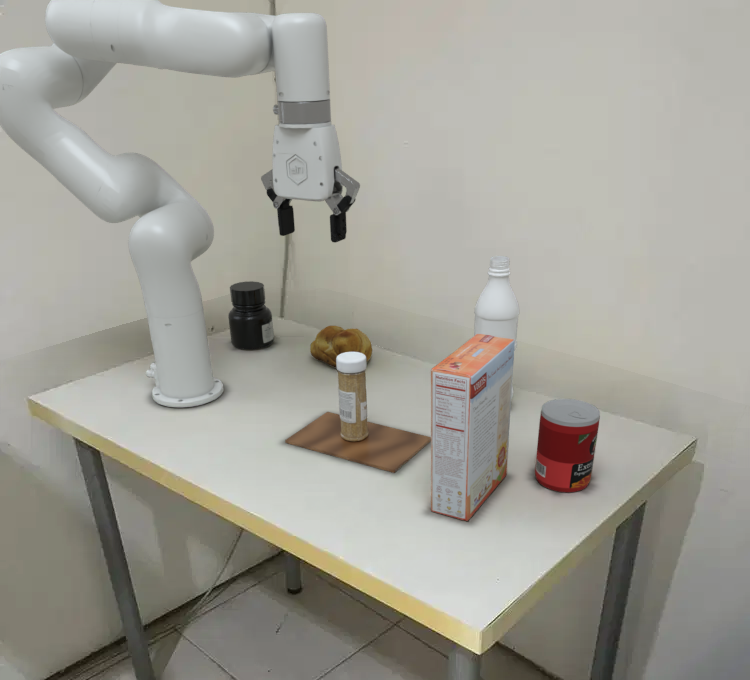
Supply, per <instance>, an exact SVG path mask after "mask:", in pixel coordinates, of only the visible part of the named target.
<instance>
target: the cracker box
mask: <svg viewBox="0 0 750 680" xmlns="http://www.w3.org/2000/svg"><path fill="white" fill-rule="evenodd" d="M514 346H515V340H514V339H508V338H501V337H494V336H490V335H484V334H476V335H475V336H474V335H473V336H472V337H471V338H470V339H468V340H467V341H466V342H465V343H463V344H462V345H460V347H458V348H457V349H456V350H454V351H453V352H452V353H450V354H449V355H448V356H446V357H445V358H444V359H442V360H441V361H440V362H438V363H437V364H436V365H435V366H433V367H432V368H431V369H430V437H431V442H430V511H431V512H432V513H436V514H440V515H443V516H447V517H450V518H454V519H458V520H461V521H465V522H469V520H470V519H471V518H472V517H473V516H474V515H475V513H476V512H477V511H478V510H479V508H481V506H482V505H483V504H484V502H485V501H486V500H487V499H488V498H489V497H490V496H491V494H492V493H493V492H494V491H495V490H496V488H497V487H498V486H499V484H500V483H501V482H502V481H503V480H504V479H505V477H506V476H507V473H508V458H509V442H510V425H511V409H512V400H511V395H512V386H513V379H514V378H513V377H514V362H515V361H514V360H515V351H514Z"/></svg>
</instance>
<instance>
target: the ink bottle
mask: <svg viewBox="0 0 750 680" xmlns="http://www.w3.org/2000/svg"><path fill="white" fill-rule="evenodd" d="M229 292H230V293H229V294H230V301H231V305H232V306H233V307H232V308H231V310H230V311H229V312H228V315H227V317H228V325H229V332H230V333H229V334H230V341H231V345H232V346H233V347H234V348H236V349H239V350H246V351H247V350H248V351H249V350H251V351H252V350H258V349H265V348H268V347H270V346H271V345H272V344H273V343H274V342H275V341H274V340H275V335H274V323H273V313H272V310H271V309H270V308H269V307H268V306H267V305H265V304H266V291H265V285H264V283H263V282H260V281H239V282H236V283H233V284H231V285H230V286H229Z"/></svg>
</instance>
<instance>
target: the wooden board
mask: <svg viewBox="0 0 750 680" xmlns="http://www.w3.org/2000/svg"><path fill="white" fill-rule="evenodd" d="M367 426H368V436H367V437H366V438H365V439H363V440H360V441H355V442H354V441H347V440H345V439H343V438H342V437H341V435H340V433H341V420H340V413H339V414H338V413H334V412H331V411H326V412H325V413H323V414H322V415H320V416H318V417H317V418H316V419H314V420H312V421H311V422H310V423H308V424H307V425H305V426H304V427H302V428H301V429H300V430H298V431H296V432H295V433H293V434H292V435H290V436H289V437H287V438H286V439H284V442H285V444H288V445H292V446H295V447H299V448H302V449H306V450H311V451H314V452H317V453H319V454H320V453H321V454H323V455H328V456H332V457H335V458H339V459H343V460H345V461H350V462H353V463H357V464H361V465H364V466H368V467H371V468H374V469H379V470H382V471H386V472H389V473H392V474H395V473H396V472H397V471H399V470H400V469H401V468H402V467H403V466H404V465H406V464H407V463H408V462H409V461H410V460H412V458H414V456H416V455H417V454H418V453H419V452H421V450H422V449H424V448H425V447H426V446H427V445H429V443H431V436H428V435H423V434H420V433H415V432H412V431H408V430H403V429H400V428H395V427H391V426H387V425H383V424H380V423H375V422H371V421H367Z"/></svg>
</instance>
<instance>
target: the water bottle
mask: <svg viewBox="0 0 750 680" xmlns="http://www.w3.org/2000/svg"><path fill="white" fill-rule="evenodd" d="M510 262H511V261H510V257H509V256H504V255H494V256H491V257H490V259H489V268H488V271H487V275H488V278H487V282H486V285H485V286H484V288H483V289H482V291H481V292H480V294H479V297H477V298H478V299H477V300H476V302H475V306H474V312H473V313H474V325H473V336H475V335H476V334H484V335H490V336H494V337H501V338H508V339H514V340H515V346H514V352H515V351H516V349H517V348H518V347H517V346H518V340H517V339H518V328H519V327H518V326H519V325H518V324H519V315H520V305H519V301H518V299H517V296H516V294H515V292H514V290H513V288H512V285H511V282H510V276H511V273H512V272H511V271H510V270H511V268H510ZM513 396H514V387H513V385H512V395H511V401H512V399H513Z"/></svg>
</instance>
